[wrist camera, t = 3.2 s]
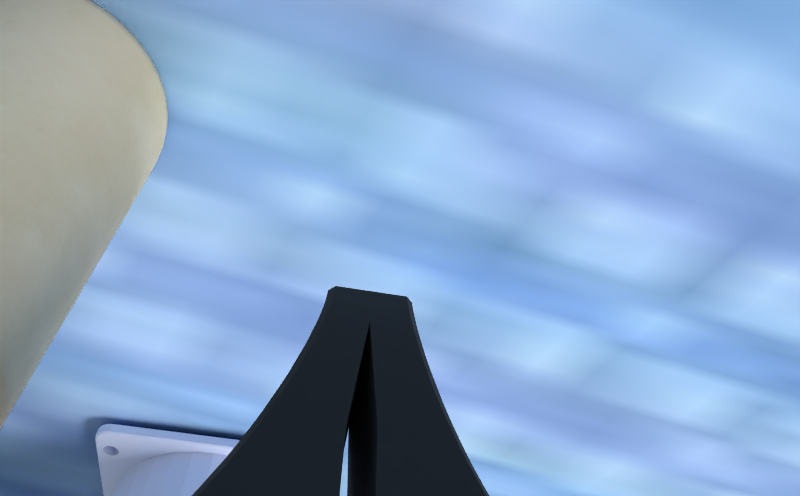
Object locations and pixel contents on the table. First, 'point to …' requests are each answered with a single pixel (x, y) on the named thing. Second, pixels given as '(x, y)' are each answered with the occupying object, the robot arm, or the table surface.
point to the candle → (65, 163)
